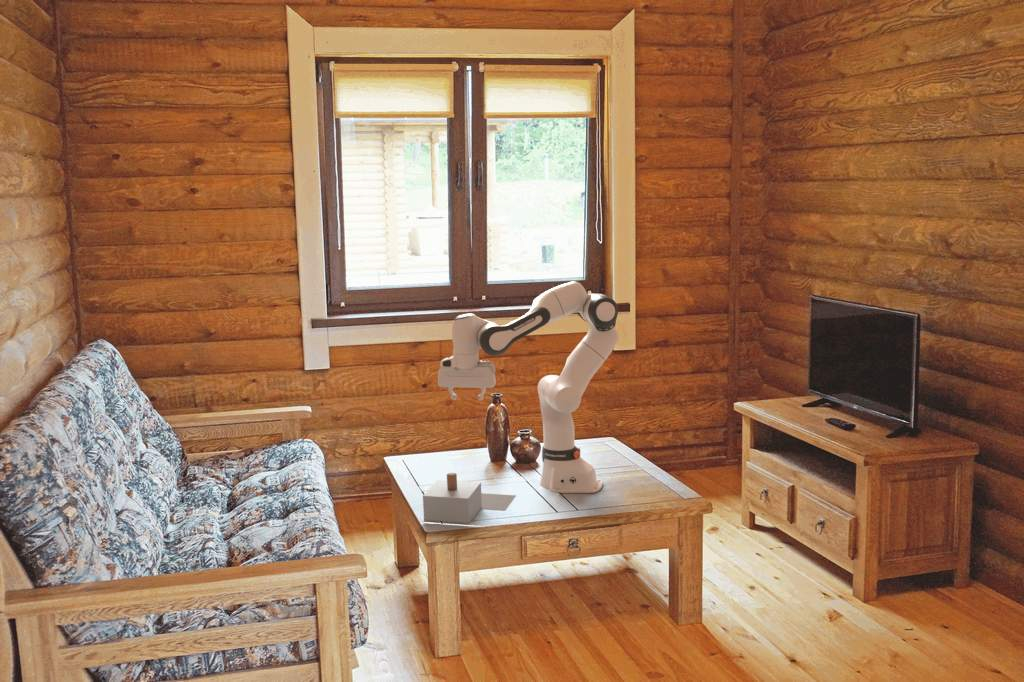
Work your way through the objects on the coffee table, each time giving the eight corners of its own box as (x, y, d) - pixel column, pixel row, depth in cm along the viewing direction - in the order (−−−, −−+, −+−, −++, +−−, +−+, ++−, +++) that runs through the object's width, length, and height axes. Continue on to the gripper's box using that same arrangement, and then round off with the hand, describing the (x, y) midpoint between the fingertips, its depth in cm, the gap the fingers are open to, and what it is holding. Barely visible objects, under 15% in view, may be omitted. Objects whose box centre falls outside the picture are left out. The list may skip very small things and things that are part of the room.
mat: (516, 497, 356) (516, 495, 356) (505, 512, 340) (505, 510, 340) (466, 493, 360) (466, 492, 360) (453, 508, 345) (453, 507, 344)
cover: (481, 507, 344) (480, 468, 341) (469, 524, 329) (467, 483, 326) (438, 504, 347) (436, 465, 344) (424, 521, 333) (422, 481, 330)
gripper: (497, 359, 355) (498, 398, 358) (440, 358, 360) (442, 397, 362) (492, 362, 349) (494, 402, 352) (435, 362, 354) (437, 401, 356)
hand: (467, 399), depth 357 cm, fingers open, 8 cm apart
